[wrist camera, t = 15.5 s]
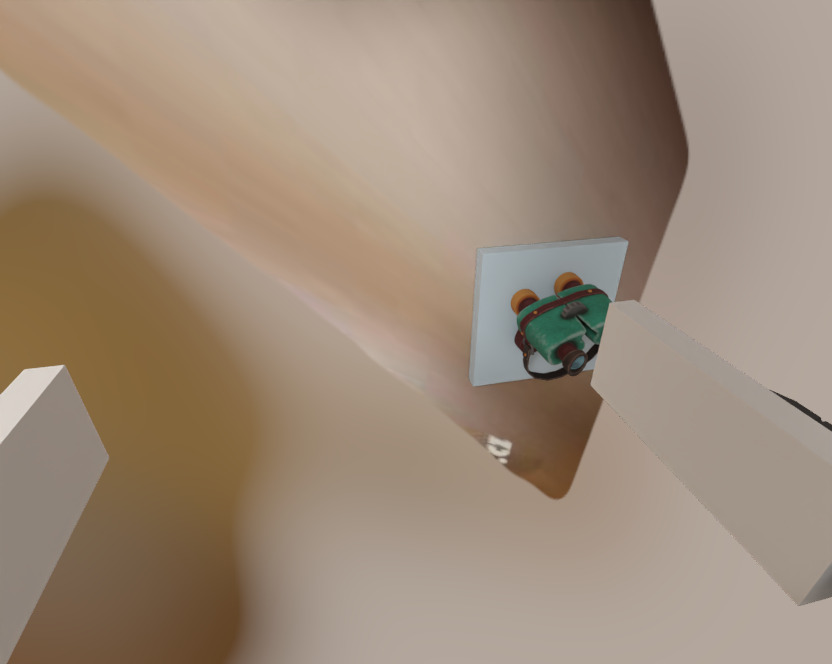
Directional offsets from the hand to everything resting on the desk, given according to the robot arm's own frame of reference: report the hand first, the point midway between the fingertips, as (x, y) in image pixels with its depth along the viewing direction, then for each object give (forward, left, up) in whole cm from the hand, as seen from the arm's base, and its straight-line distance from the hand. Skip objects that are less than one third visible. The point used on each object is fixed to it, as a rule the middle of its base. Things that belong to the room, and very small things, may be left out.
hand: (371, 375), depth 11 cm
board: (+15, +21, -29) cm, 39 cm away
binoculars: (+15, +21, -27) cm, 38 cm away
